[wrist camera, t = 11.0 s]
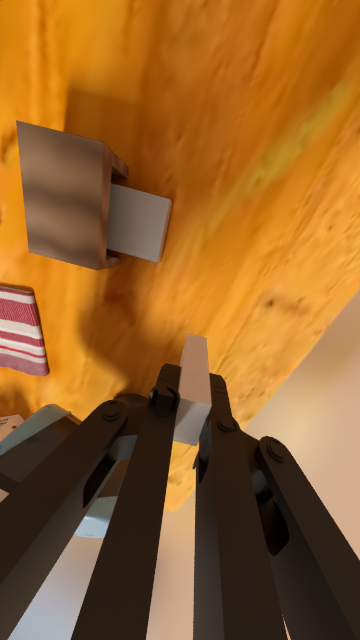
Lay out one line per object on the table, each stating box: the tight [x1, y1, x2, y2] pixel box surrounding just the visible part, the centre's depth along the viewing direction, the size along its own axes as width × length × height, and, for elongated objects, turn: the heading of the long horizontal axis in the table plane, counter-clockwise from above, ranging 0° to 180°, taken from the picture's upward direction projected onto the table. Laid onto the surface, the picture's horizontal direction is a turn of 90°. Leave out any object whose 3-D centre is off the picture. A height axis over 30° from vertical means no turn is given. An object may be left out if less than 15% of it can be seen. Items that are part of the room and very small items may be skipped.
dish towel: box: [0, 286, 49, 376], centre depth 45 cm, size 17×23×3 cm
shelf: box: [16, 120, 128, 270], centre depth 30 cm, size 16×12×8 cm
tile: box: [107, 183, 172, 263], centre depth 32 cm, size 10×18×3 cm, turn 76°
